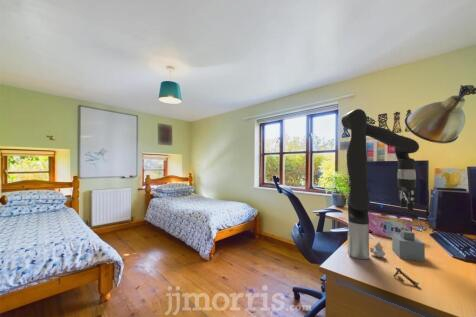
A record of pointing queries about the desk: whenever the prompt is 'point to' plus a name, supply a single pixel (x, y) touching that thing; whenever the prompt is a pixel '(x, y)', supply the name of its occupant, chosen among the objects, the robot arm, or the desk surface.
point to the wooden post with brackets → (405, 277)
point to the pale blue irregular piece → (377, 250)
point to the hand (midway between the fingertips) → (406, 209)
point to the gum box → (388, 224)
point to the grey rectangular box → (408, 246)
